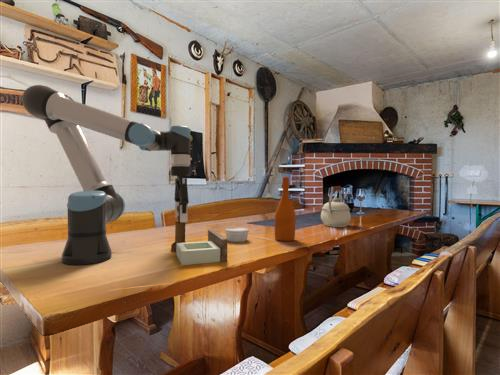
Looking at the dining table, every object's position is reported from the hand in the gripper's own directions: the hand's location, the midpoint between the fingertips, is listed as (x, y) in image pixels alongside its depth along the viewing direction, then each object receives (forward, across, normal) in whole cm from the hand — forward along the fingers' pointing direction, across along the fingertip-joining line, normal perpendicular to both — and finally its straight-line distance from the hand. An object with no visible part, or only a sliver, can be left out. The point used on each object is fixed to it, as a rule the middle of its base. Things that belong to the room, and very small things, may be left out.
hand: (181, 219), depth 117 cm
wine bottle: (+13, +6, -50) cm, 52 cm away
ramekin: (+13, +12, -28) cm, 33 cm away
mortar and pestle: (+12, 0, 0) cm, 12 cm away
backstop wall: (+12, -12, -11) cm, 20 cm away
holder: (+12, -15, -4) cm, 19 cm away
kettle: (+14, +35, -100) cm, 107 cm away
